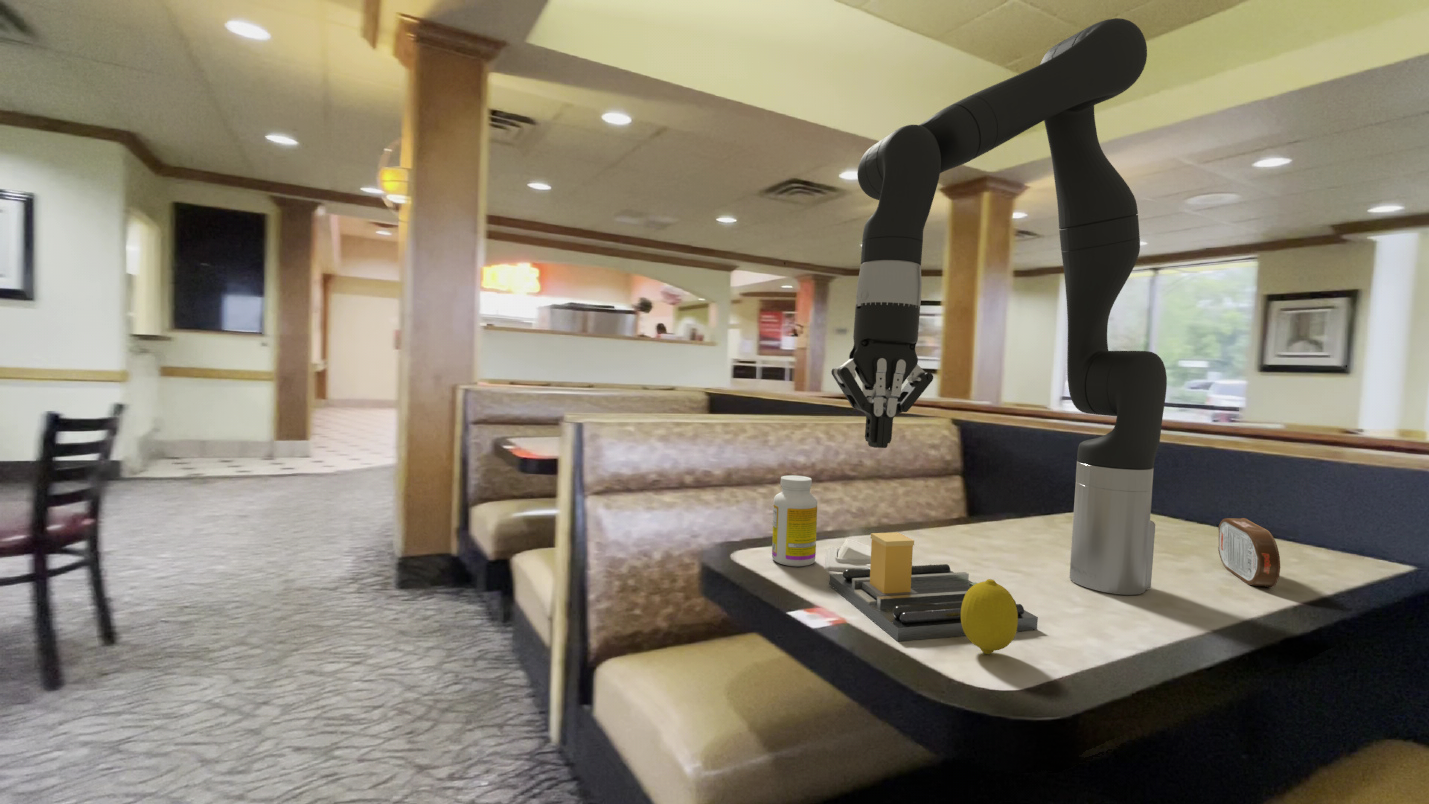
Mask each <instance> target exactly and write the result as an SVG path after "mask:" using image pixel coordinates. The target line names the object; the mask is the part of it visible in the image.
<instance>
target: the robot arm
mask: <svg viewBox="0 0 1429 804" xmlns="http://www.w3.org/2000/svg"><path fill="white" fill-rule="evenodd" d="M1147 58H1148V46H1147V42H1146V39H1145V35H1144V33H1143V32H1142V30H1141V29H1140V27H1138V25H1137V24H1136V23H1134V22H1132V21H1131V20H1128V19H1125V18H1119V17H1118V18H1117V17H1115V18H1109V19H1104V20H1101V21H1099V22H1097V23H1094V24H1092V25H1089V26H1088V27H1086V28H1085V29H1083V30H1080V31H1079V32H1077V33H1075V34H1073V35H1071V36H1069V37H1068V38H1065V39H1064V40H1062V41H1061V42H1058V43H1056V44H1055V45H1054V46H1052V47H1051V48H1049V49H1048V50H1047V52H1046V53H1045V54H1044V56H1043V58H1042V59H1041V61H1040V63H1039V65H1036V66H1034V67H1032V68H1030V69H1028V70H1026V71H1023V72H1021V73H1019V74H1016V75H1014V76H1011V77H1010V78H1008V79H1004V80H1003V81H1000V82H998V83H996V84H993V85H991V86H988V87H986V88H983V89H982V90H980V91H977V92H975V93H973V94H971V95H968V96H967V97H964V98H962V99H961V100H958V101H956V102H954V103H952V104H950V105H947V106H946V107H944V108H943V109H941V110H939V111H938V112H936V113H935V114H934V115H931V117H929V118H928V119H926V120H924V121H923V122H921V123H920V124H908V125H904V126H902V127H900V128H897V129H895V130H894V131H892V132H890V134H888V135H887V136H885V137H883V138H882V139H880V140H879V141H878V142H876V143H874V144H872V146H870V147H869V148H868V149H867V150H866V151H865V152H864V154H863V155H862V157H861V159H860V161H859V163H858V166H857V172H856V173H857V183H858V185H859V186H860V189H861V190H862V191H863V193H864V194H866V195H867V196H868V197H870V198H871V199H874V200H878V205H877V208H876V210H875V211H874V212H873V214H872V215H871V216H869V218H868V219H867V221H866V222H865V224H864V227H863V231H862V241H861V252H860V253H861V254H860V256H861V257H860V266H859V267H860V268H859V274H858V278H857V283H856V284H857V285H856V292H855V293H856V295H855V296H856V297H855V307H854V308H855V309H854V321H853V322H854V323H853V335H852V337H853V346H852V349H851V351H850V352H849V356H848V360H847V361H845V362H843V364H841V365H840V366H835V367H833V368H832V369H831V373H830V374H831V375H832V377H833V379H834V381H835V382H836V383H837V384H838V385H837V386H838V387H839V388H840V390H841V391H842V393H843V395H844V396H845V398H846V399H847V401H848V403H849V405H850V406H851V408H853V409H854V410H857V411H860V412H862V413H864V414H865V415H864V416H865V428H864V429H865V430H864V439H865V442H866V443H867V444H868V447H871V448H874V449H877V448H878V449H886V448H888V444H891V442H892V440H893V426H894V425H893V424H894V418H895V416H897V415H899V414H902V413H907V412H909V410H910V409H911V408H912V407H913V405H914V404H915V403H916V401H918V399H919V398H920V397H921V395H922V394H923V393H924V391H925V390H926V389H927V388H928V387H929V385H930V384H931V383H932V382H933V380H934V375H933V374H932V372H926V371H925V370H924V369H923V368H921V366H920V365H919V364H918V361H919V357H918V355H917V352H916V345H917V343H918V340H919V328H920V327H919V326H920V314H921V301H922V288H923V287H922V286H923V285H922V284H923V282H922V256H923V255H922V254H923V241H924V229H925V226H926V223H927V220H928V217H929V215H930V212H931V207H932V205H933V201H934V198H935V195H936V191H937V189H938V184H939V180H940V175H941V174H942V173H943V172H946V171H948V170H949V171H950V170H951V169H954V168H956V167H959V166H962V165H964V164H966V163H968V162H970V161H973V160H974V159H976V158H978V157H980V156H983V155H985V154H986V153H989V152H990V151H992V150H994V149H995V148H998V147H999V146H1001V145H1003V144H1004V143H1006V142H1008V141H1011V140H1012V139H1014V138H1015V137H1017V136H1019V135H1020V134H1022V133H1024V132H1026V131H1028V130H1030V129H1031V128H1034V127H1035V126H1037V125H1038V124H1041V123H1042V122H1044V127H1045V131H1046V136H1047V140H1048V145H1049V150H1050V156H1051V161H1052V162H1051V163H1052V169H1053V179H1054V185H1055V192H1056V201H1057V203H1056V204H1057V214H1058V215H1057V216H1058V229H1059V230H1058V233H1059V242H1060V251H1061V260H1062V265H1063V266H1062V267H1063V272H1064V273H1063V275H1064V276H1063V277H1064V284H1065V296H1066V298H1065V299H1066V308H1067V309H1066V314H1067V359H1066V361H1067V362H1066V363H1067V366H1066V368H1067V370H1066V371H1067V374H1066V375H1067V385H1068V393H1069V396H1070V399H1071V402H1072V404H1073V405H1074V407H1075V408H1076V410H1078V411H1080V412H1081V413H1084V414H1087V415H1088V414H1089V415H1098V416H1099V415H1100V416H1106V417H1107V416H1108V417H1116V419H1115V423H1114V427H1113V429H1112V430H1111V431H1109V432H1108V433H1107V434H1104V435H1101V436H1099V437H1096V438H1091V439H1087V440H1083V441H1082V442H1080V443H1079V445H1078V446H1077V453H1076V455H1077V456H1076V469H1075V486H1074V487H1075V489H1074V500H1073V501H1074V504H1073V518H1072V533H1071V535H1072V536H1071V550H1070V562H1069V564H1070V565H1069V580H1071V581H1072V582H1074V583H1075V584H1077V585H1078V586H1082V587H1085V588H1087V589H1091V590H1095V591H1099V592H1103V593H1108V594H1115V595H1125V596H1126V595H1132V596H1134V595H1140V594H1141V595H1142V594H1143V593H1145V592H1146V590H1151V589H1152V577H1153V575H1152V574H1153V562H1154V547H1155V536H1156V523H1155V521H1153V520H1151V511H1152V500H1153V482H1154V481H1153V480H1154V468H1155V459H1156V456H1157V452H1158V449H1159V447H1160V446H1159V445H1160V441H1161V435H1162V425H1163V418H1164V417H1163V416H1164V409H1165V404H1166V398H1167V397H1166V396H1167V386H1168V385H1167V382H1168V380H1167V378H1168V377H1167V371H1166V370H1167V369H1166V366H1165V364H1164V361H1163V360H1162V358H1161V357H1160V356H1159V355H1158V354H1157V353H1155V352H1152V351H1148V350H1147V351H1146V350H1109V346H1108V325H1109V324H1108V323H1109V320H1110V319H1109V318H1110V314H1111V311H1112V308H1113V306H1114V305H1115V302H1116V300H1117V298H1118V296H1119V295H1120V293H1121V291H1122V289H1123V288H1124V286H1125V284H1126V282H1127V281H1128V279H1129V277H1130V275H1131V273H1132V271H1133V269H1134V268H1135V265H1136V263H1137V261H1138V259H1139V257H1140V256H1139V255H1140V251H1141V238H1140V237H1141V236H1140V223H1139V215H1138V214H1139V212H1138V211H1139V210H1138V203H1137V201H1136V197H1135V195H1134V193H1133V192H1132V189H1131V188H1130V186H1129V185H1128V183H1127V182H1126V181H1125V179H1124V178H1123V177H1122V176H1121V174H1120V173H1119V172H1118V171H1117V169H1116V168H1115V167H1114V165H1113V164H1112V163H1111V162H1110V160H1109V159H1108V157H1107V156H1106V155H1105V153H1104V151H1103V149H1102V147H1101V144H1100V142H1099V141H1100V140H1099V138H1098V132H1097V126H1096V124H1097V123H1096V116H1095V106H1096V105H1098V104H1101V103H1103V102H1106V101H1109V100H1110V99H1114V98H1116V97H1117V96H1119V95H1121V94H1123V93H1124V92H1126V91H1127V90H1129V88H1131V87H1132V86H1133V85H1135V83H1136V82H1137V81H1138V79H1139V78H1141V75H1142V73H1143V71H1144V69H1145V66H1146V64H1147V60H1148V59H1147ZM856 377H858V378H859V380H860V381H861V383H862V387H860V386H859V384H858V382H857V380H856ZM906 380H907V383H906V384H905V386H904V387H903V384H904V383H905V382H906ZM902 387H903V388H902Z"/></svg>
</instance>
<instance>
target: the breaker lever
mask: <svg viewBox="0 0 1429 804" xmlns="http://www.w3.org/2000/svg"><path fill="white" fill-rule="evenodd" d="M870 539H871V545H870V546H871V565H870V582H862V589H864V590H865V591H866V592H868V593H869V594H870V595H872V596H873V597H874V598H876V599H877V597H881V596H897V595H912V594H918V593H917V592H915V591H914V590H912V589H911V572H912V566H913V550H914V546H915V540H914V539H912V538H910V537H909V536H906V535H905V534H903V533H901V532H895V531H894V532H872V533H871V532H870Z"/></svg>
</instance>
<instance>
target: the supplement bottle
mask: <svg viewBox="0 0 1429 804" xmlns="http://www.w3.org/2000/svg"><path fill="white" fill-rule="evenodd" d="M812 481H813V479H812V478H811V477H809V476H804V475H792V474H791V475H782V476H780V483H779V484H780V488H781V491H780V492H779V493H777V494H776V495H774V498H773V510H772V511H773V513H772V514H773V515H772V517H773V518H772V519H773V520H772V521H773V522H772V545H771V557H772V559H773V561H774V562H776V563H777V564H780V565H783V566H789V567H806V566H809V565H812V564H814V563H815V561H816V555H817V553H816V551H817V525H818V524H817V523H818V522H817V521H818V499H817V498H816V496H814V495H813V493H811V489H812V486H813V485H812V483H813V482H812Z"/></svg>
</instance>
